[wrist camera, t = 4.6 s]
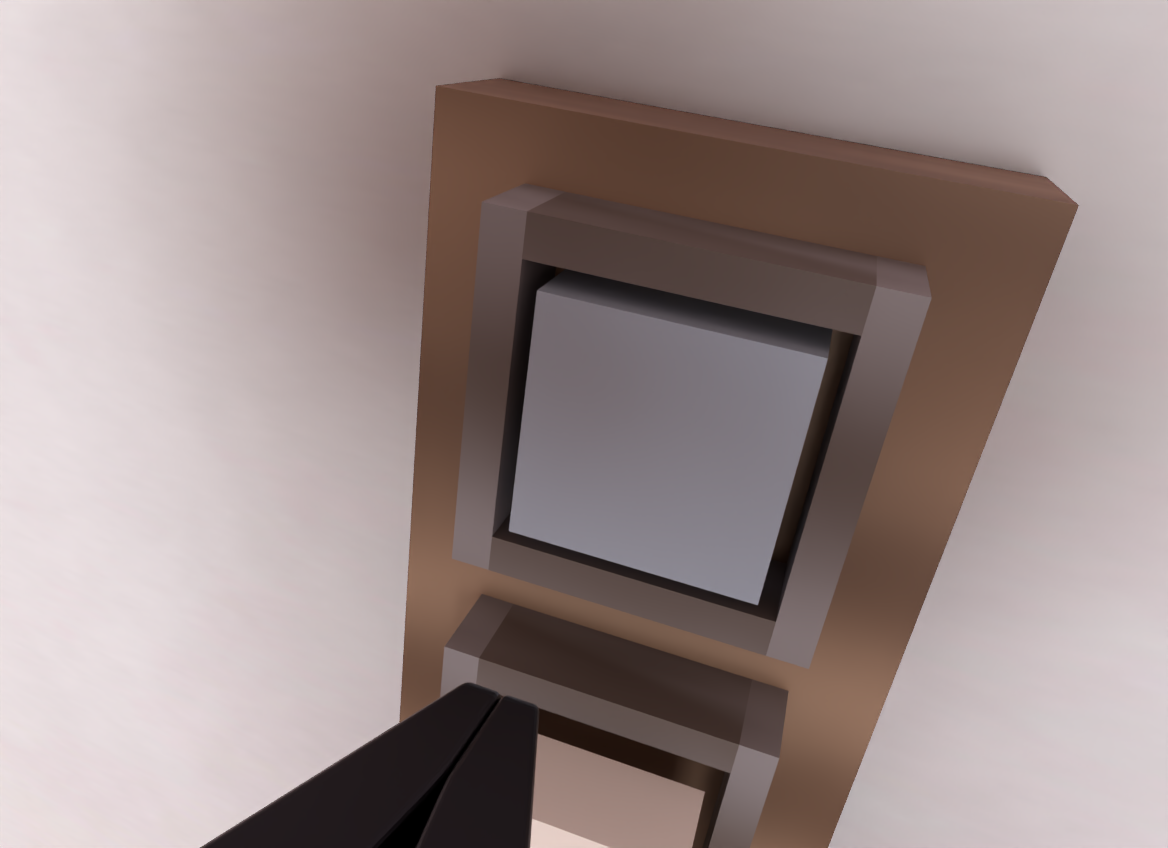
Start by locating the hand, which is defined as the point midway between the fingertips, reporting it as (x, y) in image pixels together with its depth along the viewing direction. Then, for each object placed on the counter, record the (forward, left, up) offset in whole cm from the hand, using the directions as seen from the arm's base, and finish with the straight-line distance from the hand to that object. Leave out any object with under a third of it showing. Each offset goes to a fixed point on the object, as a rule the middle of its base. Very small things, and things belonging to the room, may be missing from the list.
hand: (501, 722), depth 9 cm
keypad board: (-8, -5, -12) cm, 15 cm away
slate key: (0, 0, -9) cm, 9 cm away
